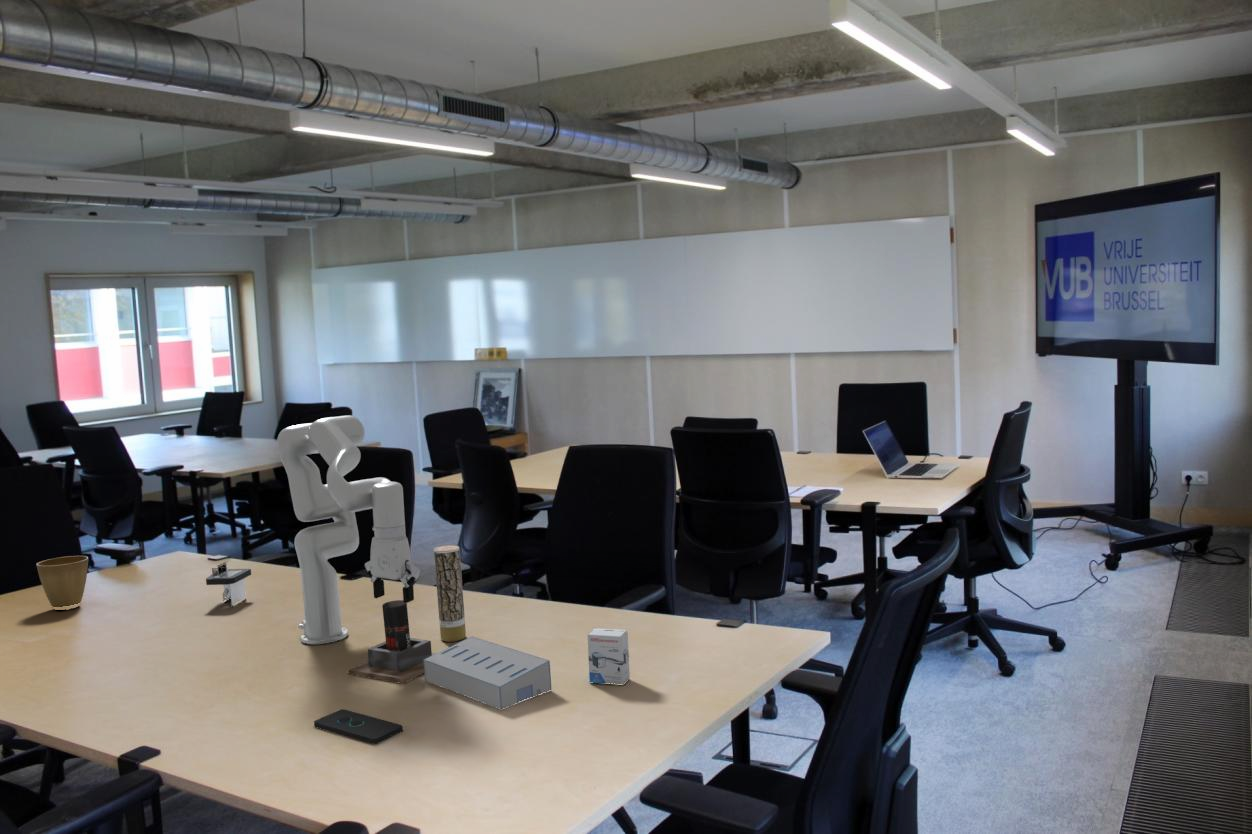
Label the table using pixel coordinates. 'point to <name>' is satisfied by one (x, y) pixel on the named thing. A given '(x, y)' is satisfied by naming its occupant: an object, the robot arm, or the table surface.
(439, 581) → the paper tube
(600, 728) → the table surface
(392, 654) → the holder
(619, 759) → the table surface
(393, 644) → the deodorant
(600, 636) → the ink box
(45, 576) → the plant pot
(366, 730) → the smart home device
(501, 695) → the warehouse
